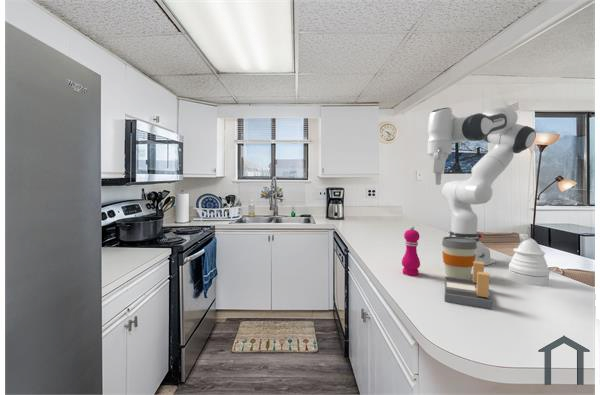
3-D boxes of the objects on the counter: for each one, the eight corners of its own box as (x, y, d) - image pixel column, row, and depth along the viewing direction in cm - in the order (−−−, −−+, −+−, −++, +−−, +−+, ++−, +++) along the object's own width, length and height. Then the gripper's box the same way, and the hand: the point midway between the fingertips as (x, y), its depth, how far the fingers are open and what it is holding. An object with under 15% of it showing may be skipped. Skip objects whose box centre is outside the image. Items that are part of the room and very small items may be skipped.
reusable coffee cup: (480, 281, 118) (482, 243, 117) (445, 279, 120) (446, 241, 119) (469, 272, 130) (470, 237, 129) (437, 270, 133) (439, 235, 132)
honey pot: (510, 282, 118) (512, 236, 117) (506, 273, 129) (508, 231, 128) (552, 288, 112) (555, 239, 111) (544, 278, 123) (546, 233, 122)
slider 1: (473, 282, 108) (474, 263, 108) (472, 280, 111) (473, 260, 110) (483, 283, 107) (484, 264, 106) (482, 281, 110) (483, 262, 109)
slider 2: (477, 296, 95) (478, 274, 95) (476, 292, 98) (477, 271, 98) (488, 297, 94) (489, 275, 94) (487, 294, 97) (488, 272, 96)
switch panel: (444, 301, 98) (445, 293, 98) (444, 282, 116) (445, 275, 116) (492, 309, 93) (492, 300, 92) (484, 288, 111) (484, 281, 110)
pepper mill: (417, 271, 130) (418, 224, 129) (422, 276, 123) (423, 227, 122) (399, 270, 131) (401, 224, 130) (403, 276, 124) (405, 227, 123)
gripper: (448, 146, 110) (447, 185, 111) (448, 151, 128) (446, 184, 129) (429, 147, 113) (428, 184, 113) (431, 152, 131) (430, 184, 132)
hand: (438, 184), depth 122 cm, fingers closed
